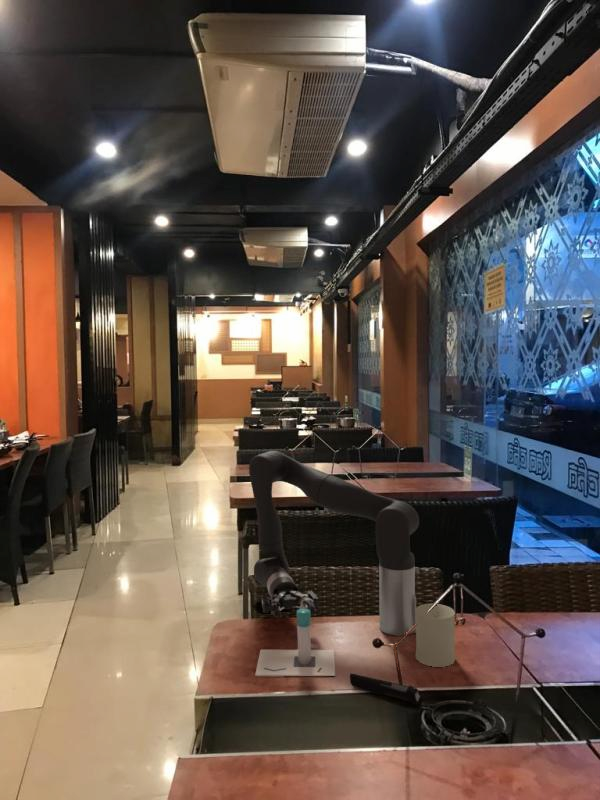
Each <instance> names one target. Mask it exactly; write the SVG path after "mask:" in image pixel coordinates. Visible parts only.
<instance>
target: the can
mask: <svg viewBox="0 0 600 800" xmlns="http://www.w3.org/2000/svg"><path fill="white" fill-rule="evenodd" d="M434 604H435V603H424V604H420V605H419V606H416V624H417V625H416V633H415V655H414V656H415V659H416V660H418V661H419V662H418V661H417V662H418V663H420V664H421V663H422V665H423V664H425V665H424V666H426V665H428V666H427V667H429V666H432V667H431V668H435V667H443V668H446V667H445V666H448V667H450V666H452V665H453V664H454V663H455V662H454V661H456V657H455V618H456V617H455V615H456V612H455V610H454V609H453V608H452V607H450V606H448V605H444V604H441V603H436V604H437V606H435V607H434V608H433V609H432V610H431V611H430V612H428V610H429V609H430V608H431V607H432V606H433V605H434ZM427 612H428V613H427ZM451 664H452V665H451ZM449 665H450V666H449Z"/></svg>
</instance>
